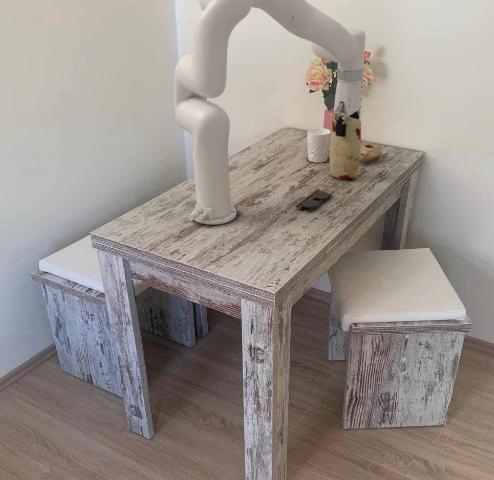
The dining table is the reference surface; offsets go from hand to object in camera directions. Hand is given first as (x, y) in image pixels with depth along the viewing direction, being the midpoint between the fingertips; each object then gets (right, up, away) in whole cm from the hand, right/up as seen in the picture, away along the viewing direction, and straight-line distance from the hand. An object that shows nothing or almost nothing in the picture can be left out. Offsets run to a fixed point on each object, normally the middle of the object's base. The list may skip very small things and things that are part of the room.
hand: (347, 131), depth 180 cm
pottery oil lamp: (+9, -5, +21) cm, 23 cm away
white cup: (-7, -4, +23) cm, 24 cm away
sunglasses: (-11, -23, -9) cm, 27 cm away
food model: (0, -13, +8) cm, 15 cm away
